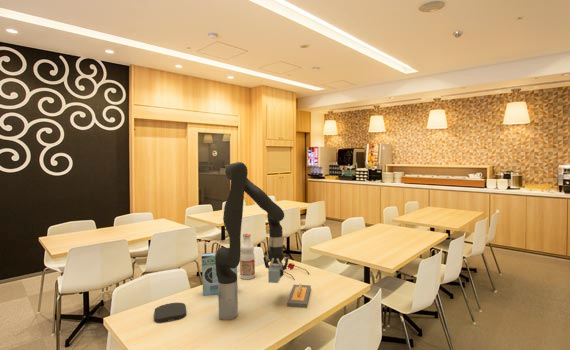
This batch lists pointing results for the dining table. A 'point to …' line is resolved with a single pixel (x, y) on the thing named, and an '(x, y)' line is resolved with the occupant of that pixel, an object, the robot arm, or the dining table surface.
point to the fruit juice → (247, 258)
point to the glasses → (292, 268)
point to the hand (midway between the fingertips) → (276, 275)
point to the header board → (299, 303)
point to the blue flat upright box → (211, 274)
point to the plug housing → (274, 274)
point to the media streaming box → (170, 312)
